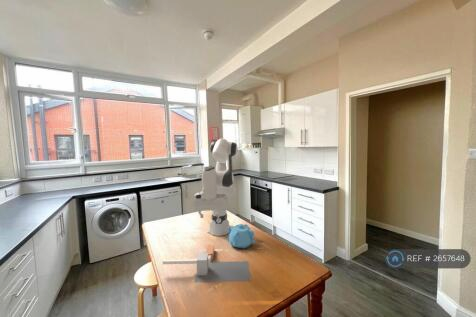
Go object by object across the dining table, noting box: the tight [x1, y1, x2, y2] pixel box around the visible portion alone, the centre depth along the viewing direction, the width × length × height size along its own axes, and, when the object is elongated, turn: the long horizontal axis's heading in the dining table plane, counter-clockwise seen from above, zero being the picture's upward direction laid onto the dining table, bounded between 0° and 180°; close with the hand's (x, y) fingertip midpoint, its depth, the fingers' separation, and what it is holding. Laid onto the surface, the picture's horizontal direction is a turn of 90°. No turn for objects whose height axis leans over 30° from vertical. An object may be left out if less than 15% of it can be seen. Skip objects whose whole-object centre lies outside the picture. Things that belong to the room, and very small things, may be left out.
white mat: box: [199, 248, 224, 253], centre depth 114 cm, size 13×14×1 cm
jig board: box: [193, 252, 251, 283], centre depth 99 cm, size 16×27×9 cm, turn 91°
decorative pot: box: [227, 223, 256, 250], centre depth 128 cm, size 16×16×14 cm
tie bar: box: [162, 255, 212, 265], centre depth 98 cm, size 3×24×3 cm, turn 91°
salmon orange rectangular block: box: [205, 244, 215, 261], centre depth 114 cm, size 10×4×4 cm, turn 2°
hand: (209, 217), depth 113 cm, fingers open, 8 cm apart
